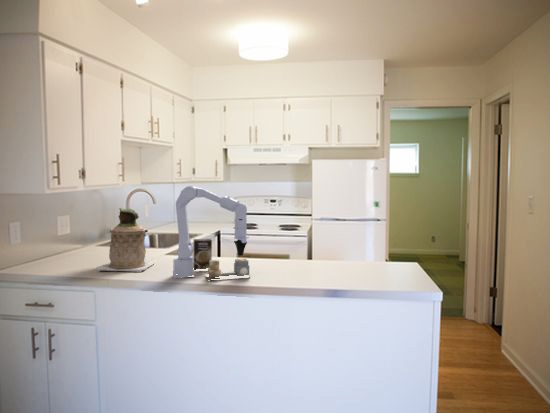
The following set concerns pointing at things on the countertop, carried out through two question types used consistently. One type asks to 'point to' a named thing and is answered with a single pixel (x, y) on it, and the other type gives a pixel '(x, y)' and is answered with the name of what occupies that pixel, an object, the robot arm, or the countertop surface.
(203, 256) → the coffee box
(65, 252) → the countertop surface
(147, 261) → the cookie jar
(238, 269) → the blue-grey jar
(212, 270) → the carriage
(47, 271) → the countertop surface
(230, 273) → the rail
